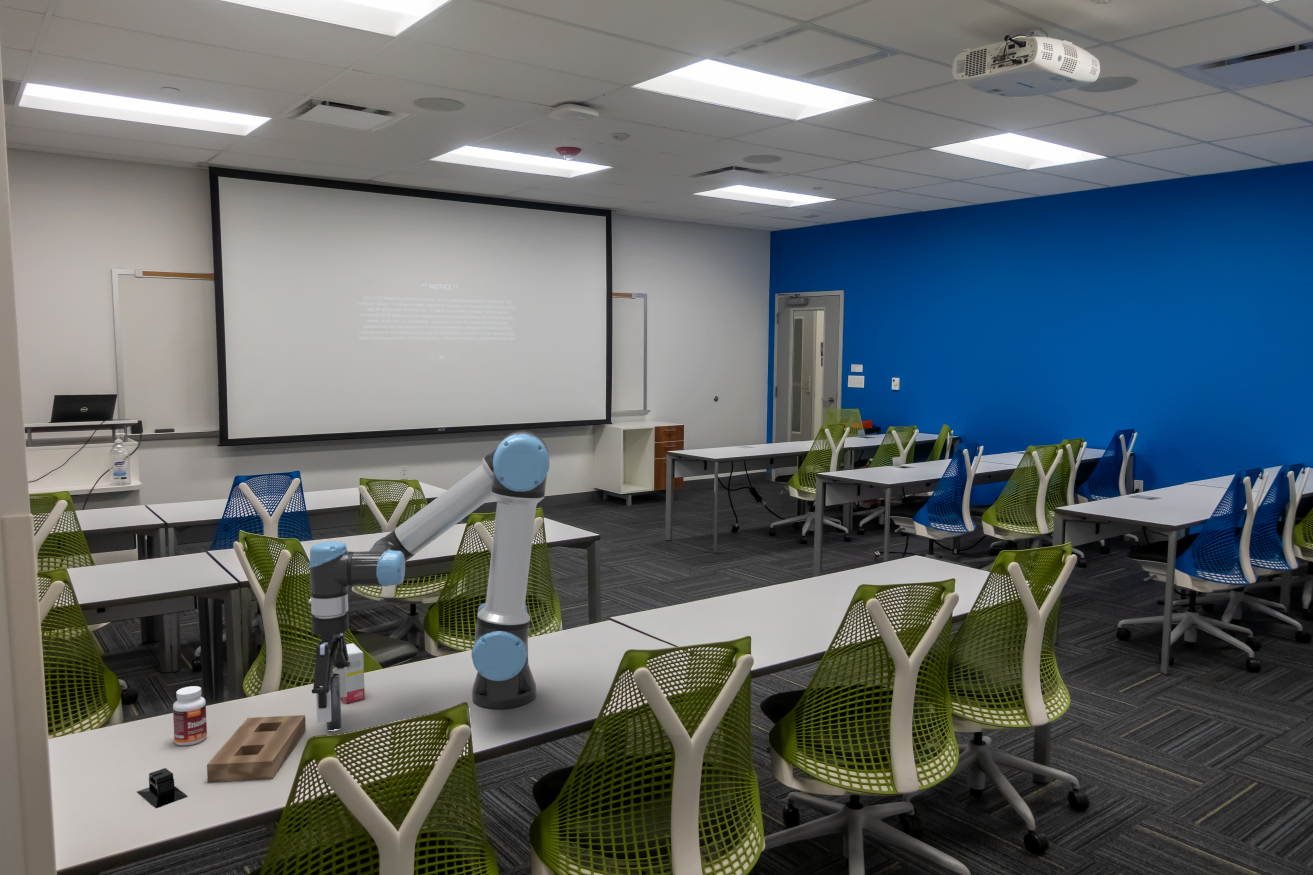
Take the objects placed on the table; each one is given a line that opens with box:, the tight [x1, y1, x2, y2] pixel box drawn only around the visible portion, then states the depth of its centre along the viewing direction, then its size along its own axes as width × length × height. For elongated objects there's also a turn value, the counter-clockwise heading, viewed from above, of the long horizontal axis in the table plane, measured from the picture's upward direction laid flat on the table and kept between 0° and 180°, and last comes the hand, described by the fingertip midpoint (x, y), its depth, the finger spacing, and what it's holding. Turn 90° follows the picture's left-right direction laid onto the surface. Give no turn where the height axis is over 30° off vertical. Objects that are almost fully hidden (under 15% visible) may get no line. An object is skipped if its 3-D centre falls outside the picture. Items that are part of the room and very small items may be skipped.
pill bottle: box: [172, 685, 208, 747], centre depth 184 cm, size 6×6×11 cm
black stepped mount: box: [136, 767, 189, 809], centre depth 161 cm, size 12×7×5 cm, turn 50°
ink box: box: [334, 643, 366, 704], centre depth 208 cm, size 9×5×12 cm, turn 36°
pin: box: [326, 673, 342, 731], centre depth 189 cm, size 3×3×12 cm
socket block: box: [206, 714, 307, 783], centre depth 177 cm, size 12×22×4 cm, turn 6°
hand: (332, 708), depth 189 cm, fingers open, 13 cm apart
